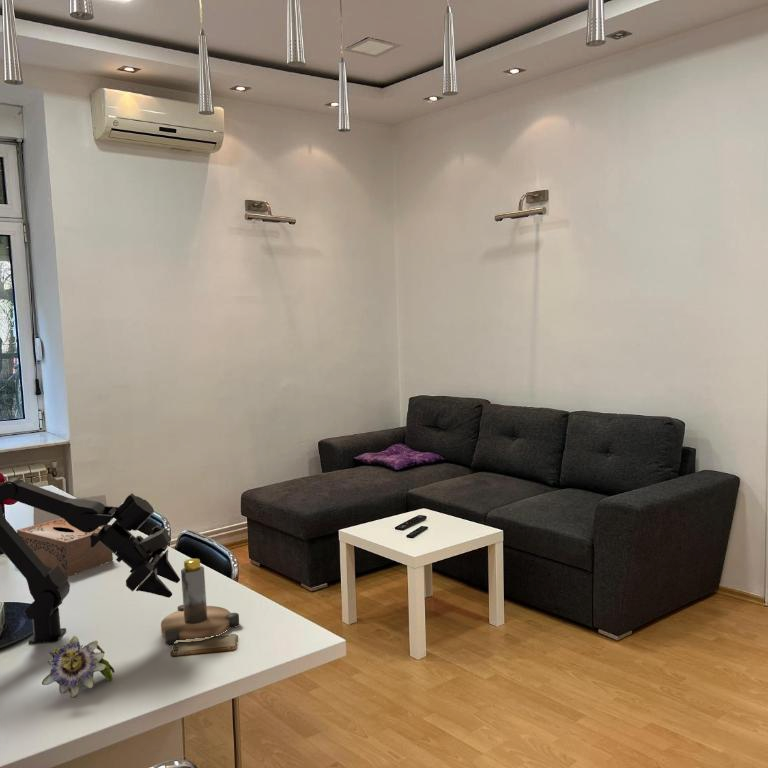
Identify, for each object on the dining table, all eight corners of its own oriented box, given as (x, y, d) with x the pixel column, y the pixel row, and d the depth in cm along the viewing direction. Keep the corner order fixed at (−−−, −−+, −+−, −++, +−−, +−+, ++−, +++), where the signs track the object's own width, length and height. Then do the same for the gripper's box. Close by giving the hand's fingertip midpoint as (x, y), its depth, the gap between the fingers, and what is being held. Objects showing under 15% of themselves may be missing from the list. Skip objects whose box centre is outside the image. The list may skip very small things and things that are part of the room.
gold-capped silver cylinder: (197, 625, 178) (193, 565, 176) (179, 622, 180) (175, 563, 178) (211, 616, 182) (208, 558, 181) (194, 613, 184) (190, 556, 183)
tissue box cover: (19, 562, 235) (16, 530, 234) (63, 548, 247) (60, 518, 246) (69, 576, 220) (66, 542, 219) (113, 561, 232) (110, 529, 231)
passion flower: (77, 721, 152) (34, 687, 146) (74, 687, 161) (34, 654, 156) (125, 682, 154) (84, 647, 148) (119, 651, 163) (81, 616, 158)
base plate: (234, 640, 173) (234, 630, 173) (153, 646, 172) (153, 635, 172) (243, 610, 191) (242, 600, 190) (169, 614, 189) (169, 605, 189)
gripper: (137, 531, 169) (191, 577, 170) (156, 508, 187) (205, 550, 189) (102, 567, 169) (157, 614, 171) (125, 541, 187) (174, 583, 189)
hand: (175, 588), depth 180 cm, fingers open, 9 cm apart
